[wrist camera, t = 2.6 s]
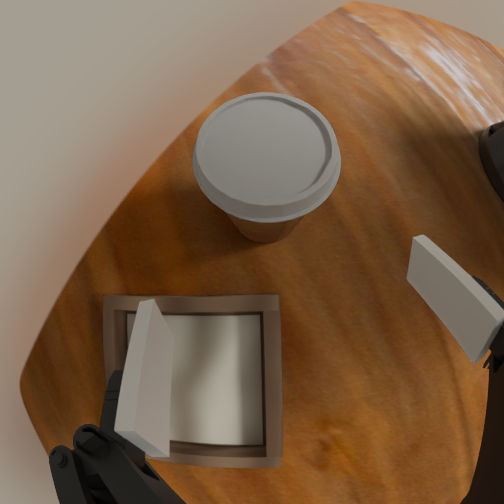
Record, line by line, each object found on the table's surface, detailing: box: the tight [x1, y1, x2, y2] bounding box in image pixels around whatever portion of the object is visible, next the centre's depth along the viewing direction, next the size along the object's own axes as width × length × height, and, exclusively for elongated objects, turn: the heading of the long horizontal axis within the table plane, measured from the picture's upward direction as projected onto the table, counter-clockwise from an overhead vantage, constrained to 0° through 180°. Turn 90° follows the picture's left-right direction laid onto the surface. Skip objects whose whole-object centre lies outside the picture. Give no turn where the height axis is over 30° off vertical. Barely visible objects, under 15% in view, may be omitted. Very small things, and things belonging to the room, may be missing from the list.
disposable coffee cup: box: [192, 92, 341, 243], centre depth 22 cm, size 10×10×12 cm
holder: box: [103, 294, 282, 468], centre depth 22 cm, size 16×16×4 cm
